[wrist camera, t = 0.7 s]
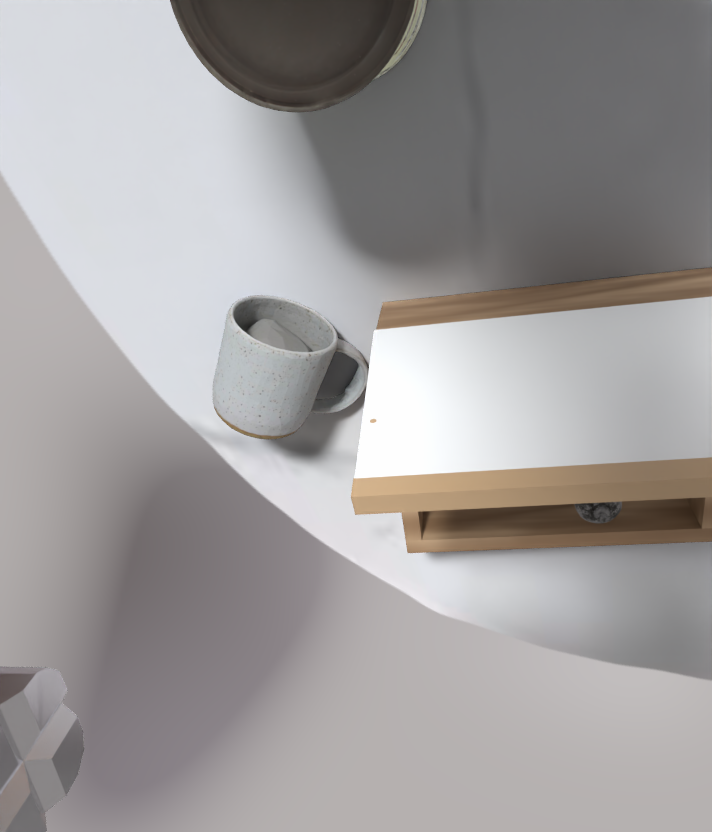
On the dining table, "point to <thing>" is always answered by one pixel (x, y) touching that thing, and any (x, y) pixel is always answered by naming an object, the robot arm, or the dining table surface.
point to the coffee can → (298, 46)
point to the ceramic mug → (278, 367)
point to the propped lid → (539, 410)
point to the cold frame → (560, 521)
